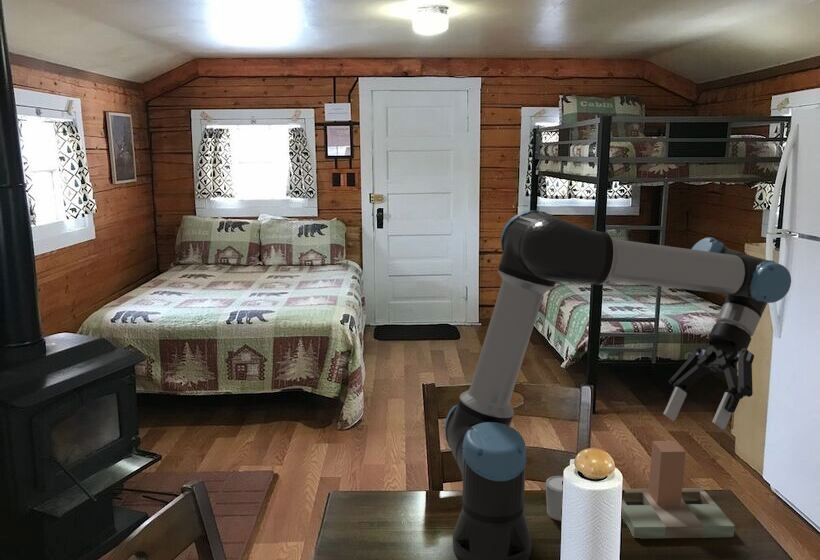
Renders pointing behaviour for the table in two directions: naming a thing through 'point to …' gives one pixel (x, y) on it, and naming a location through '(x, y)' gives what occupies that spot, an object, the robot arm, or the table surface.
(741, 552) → the table surface
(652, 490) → the block
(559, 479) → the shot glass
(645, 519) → the board
